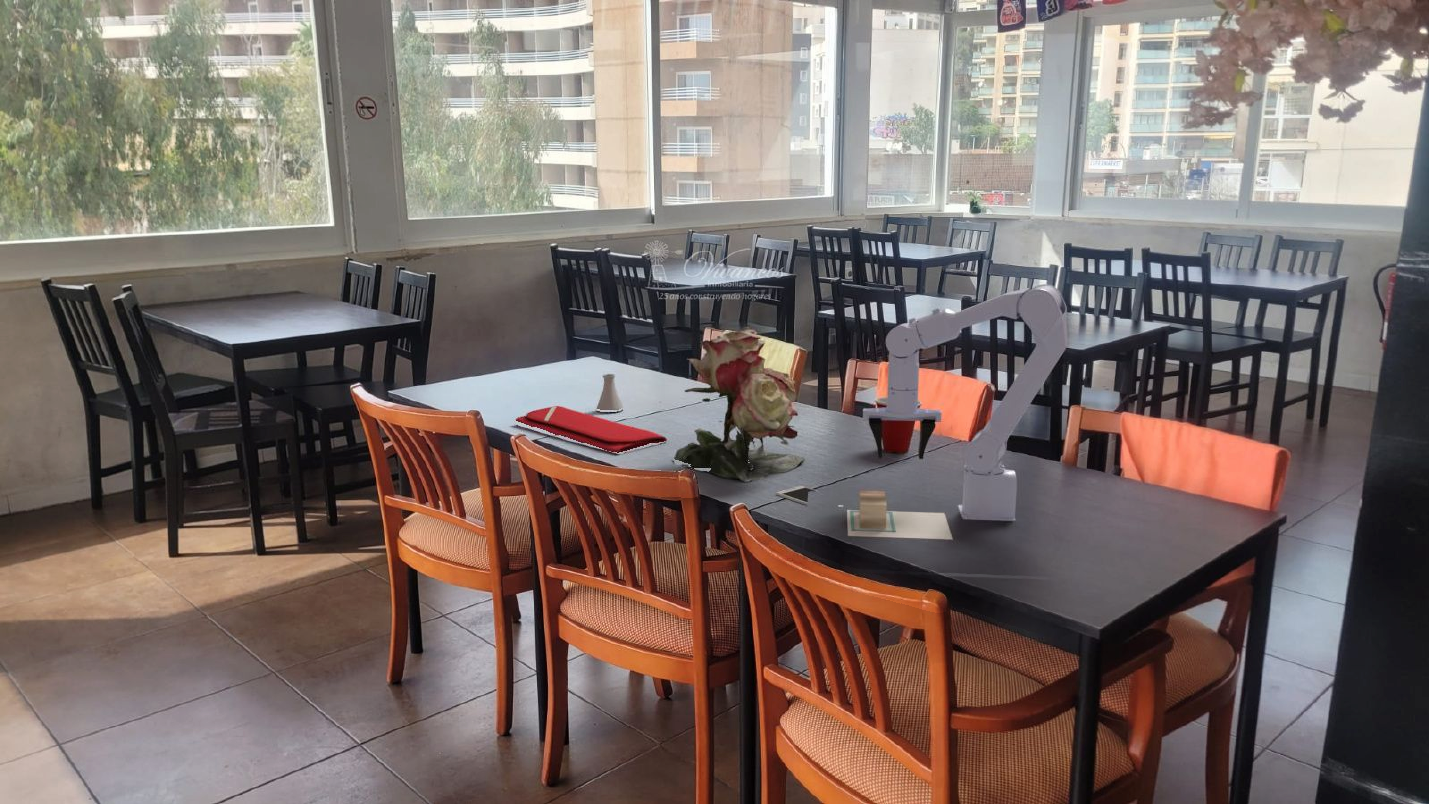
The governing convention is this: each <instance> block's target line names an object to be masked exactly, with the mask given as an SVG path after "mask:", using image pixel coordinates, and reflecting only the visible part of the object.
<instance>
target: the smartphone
mask: <svg viewBox="0 0 1429 804" xmlns="http://www.w3.org/2000/svg"><path fill="white" fill-rule="evenodd" d="M809 492H819V491H818V490H817V489H812V488H810V487H806V486H803V485H798V486H794V487H791V488H787V489H783V490H779V491H776V493H775V494H776V496H779V497H781V498H785V499H787V500H791V501H792V502H793V501H794V502H796V503H799V504H803V505H805V506H808V503H809V501H808V500H809ZM837 506H838V507H839V508H842V507H844V505H843V504H840V505H839V504H838V505H837Z"/></svg>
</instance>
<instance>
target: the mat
mask: <svg viewBox="0 0 1429 804" xmlns="http://www.w3.org/2000/svg"><path fill="white" fill-rule="evenodd" d="M846 518H847V519H846V520H847V521H846V522H847V536H848V537H869V538H892V539H893V538H897V539H921V540H922V539H923V540H952V541H953V539H954V538H953V536H952V532H951V530H950V526H949V523H948V520H947V517H946V514H945V512H925V511H923V512H922V511H919V512H918V511H895V510H894V511H893V510H892V511H891V510H890V511H889V510H887V514H886V529H866V528H860V520H859V509H858V510H857V509H855V510H854V509H847V510H846Z"/></svg>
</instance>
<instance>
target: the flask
mask: <svg viewBox="0 0 1429 804" xmlns="http://www.w3.org/2000/svg"><path fill="white" fill-rule="evenodd" d="M615 377H616V374H613V373H605V374H603V375H602V378H603V385H602V386H603V388H602V391H601V395H600V398H599V399H598V400H599V401H598V403H597V405H596V409H600V410H619V409H621V408H622V407H623V408H624V405H623V404H622V401H621V399H620V396H619V393H618V391H617V388H616V384H615V383H616V382H615Z"/></svg>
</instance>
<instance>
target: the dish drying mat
mask: <svg viewBox="0 0 1429 804" xmlns="http://www.w3.org/2000/svg"><path fill="white" fill-rule="evenodd" d="M515 420H516V421H518V422H521V423H524V424H526V425H529V426H531V427H537V428H540V429H543V430H546V431H548V432H550V433H553V434H555V435H561V436H564V437H568V438H570V439H573V440H576V441H578V442H581V443H587V444H590V445H593V446H596V447H599V448H602V449H604V450H607V451H611V452H617V453H619V452H623V451H627V450H630V449H633V448H637V447H640V446H644V445H647V444H649V443H659V442H664V441H666V442H667V441H668V440H667V437H665V436H663V435H662V434H661V435H660V434H658V433H655V432H653V431H650V430H647V429H642V428H639V427H634V426H630V425H627V424H622V423H619V422H616V421H612V420H608V419H606V418H601V417H598V416H594V415H591V414H587V413H585V412H579V411H577V410H575V409H570V408H568V407H563V406H560V405H554V406H549V407H546V408H540V409H535V410H532V411H529V412H527V413H526V414H525V415H523V416H517V417H516V419H515Z"/></svg>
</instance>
